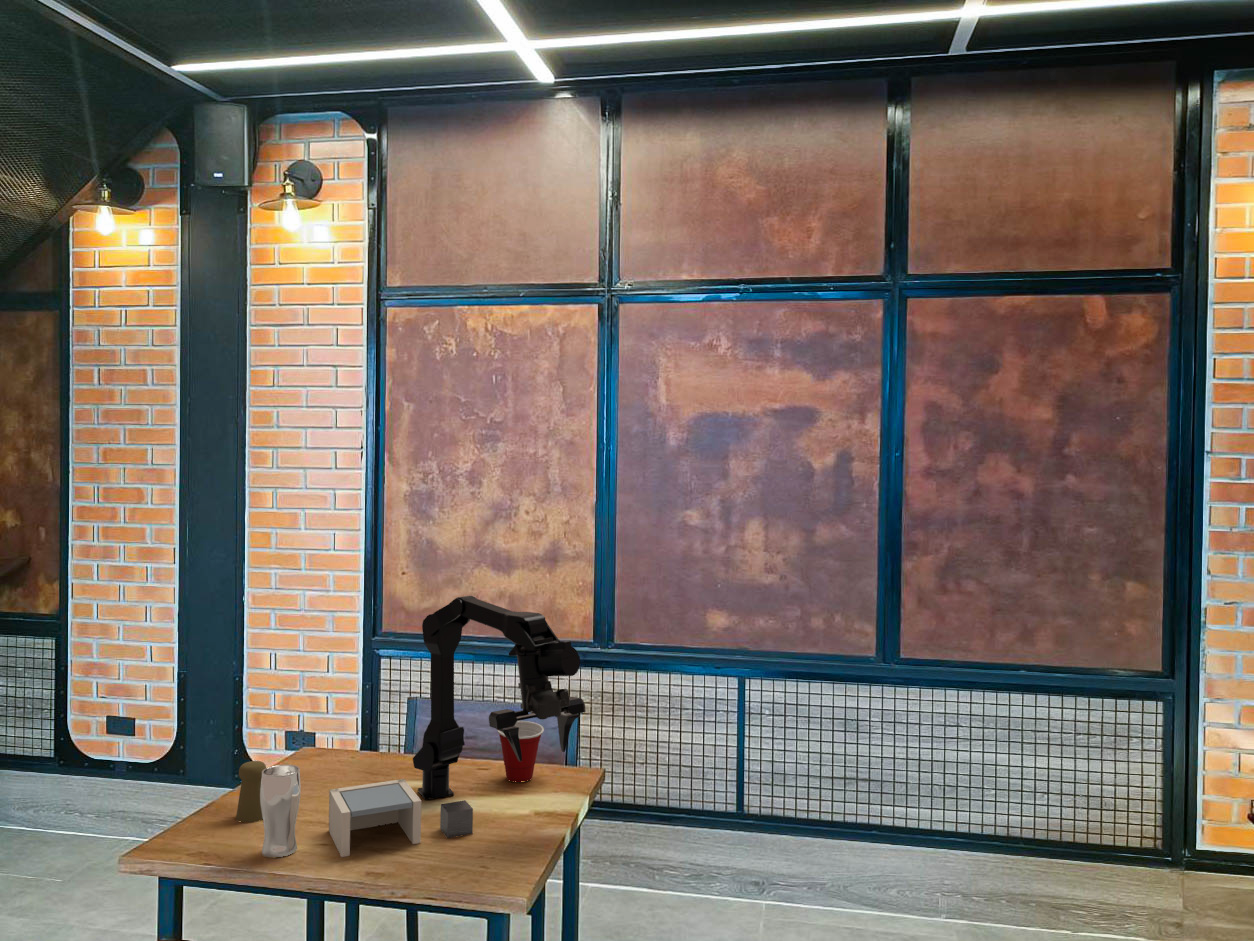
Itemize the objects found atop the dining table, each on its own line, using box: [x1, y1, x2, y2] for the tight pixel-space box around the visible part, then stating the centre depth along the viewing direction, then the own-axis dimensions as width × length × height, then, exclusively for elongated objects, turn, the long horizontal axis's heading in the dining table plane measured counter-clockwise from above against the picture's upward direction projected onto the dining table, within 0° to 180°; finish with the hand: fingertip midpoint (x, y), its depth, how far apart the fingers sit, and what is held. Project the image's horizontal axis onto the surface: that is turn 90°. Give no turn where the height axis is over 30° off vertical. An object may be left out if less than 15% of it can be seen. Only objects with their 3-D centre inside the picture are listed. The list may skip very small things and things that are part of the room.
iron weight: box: [439, 799, 474, 839], centre depth 176 cm, size 5×5×5 cm
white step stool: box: [328, 778, 422, 858], centre depth 172 cm, size 14×15×8 cm
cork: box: [235, 760, 267, 823], centre depth 181 cm, size 6×6×11 cm
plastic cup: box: [496, 720, 545, 783], centre depth 206 cm, size 11×11×12 cm
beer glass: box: [260, 764, 301, 858], centre depth 165 cm, size 7×7×15 cm
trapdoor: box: [341, 784, 412, 817], centre depth 172 cm, size 12×11×1 cm
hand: (542, 756), depth 178 cm, fingers open, 9 cm apart
